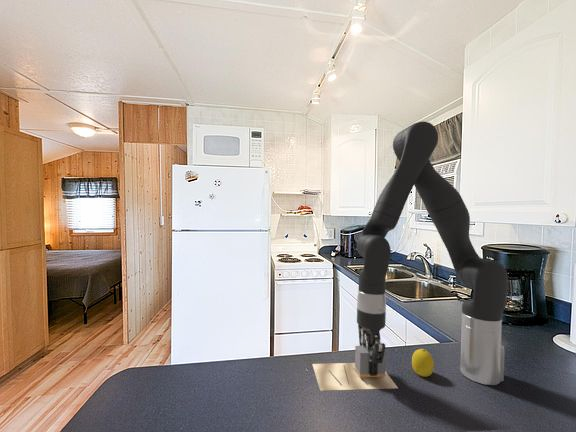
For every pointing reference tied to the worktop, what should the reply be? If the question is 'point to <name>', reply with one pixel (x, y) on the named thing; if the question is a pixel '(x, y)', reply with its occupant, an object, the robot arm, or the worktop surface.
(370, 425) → the worktop surface
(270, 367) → the worktop surface
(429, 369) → the lemon
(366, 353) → the block
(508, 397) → the worktop surface
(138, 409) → the worktop surface
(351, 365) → the board
